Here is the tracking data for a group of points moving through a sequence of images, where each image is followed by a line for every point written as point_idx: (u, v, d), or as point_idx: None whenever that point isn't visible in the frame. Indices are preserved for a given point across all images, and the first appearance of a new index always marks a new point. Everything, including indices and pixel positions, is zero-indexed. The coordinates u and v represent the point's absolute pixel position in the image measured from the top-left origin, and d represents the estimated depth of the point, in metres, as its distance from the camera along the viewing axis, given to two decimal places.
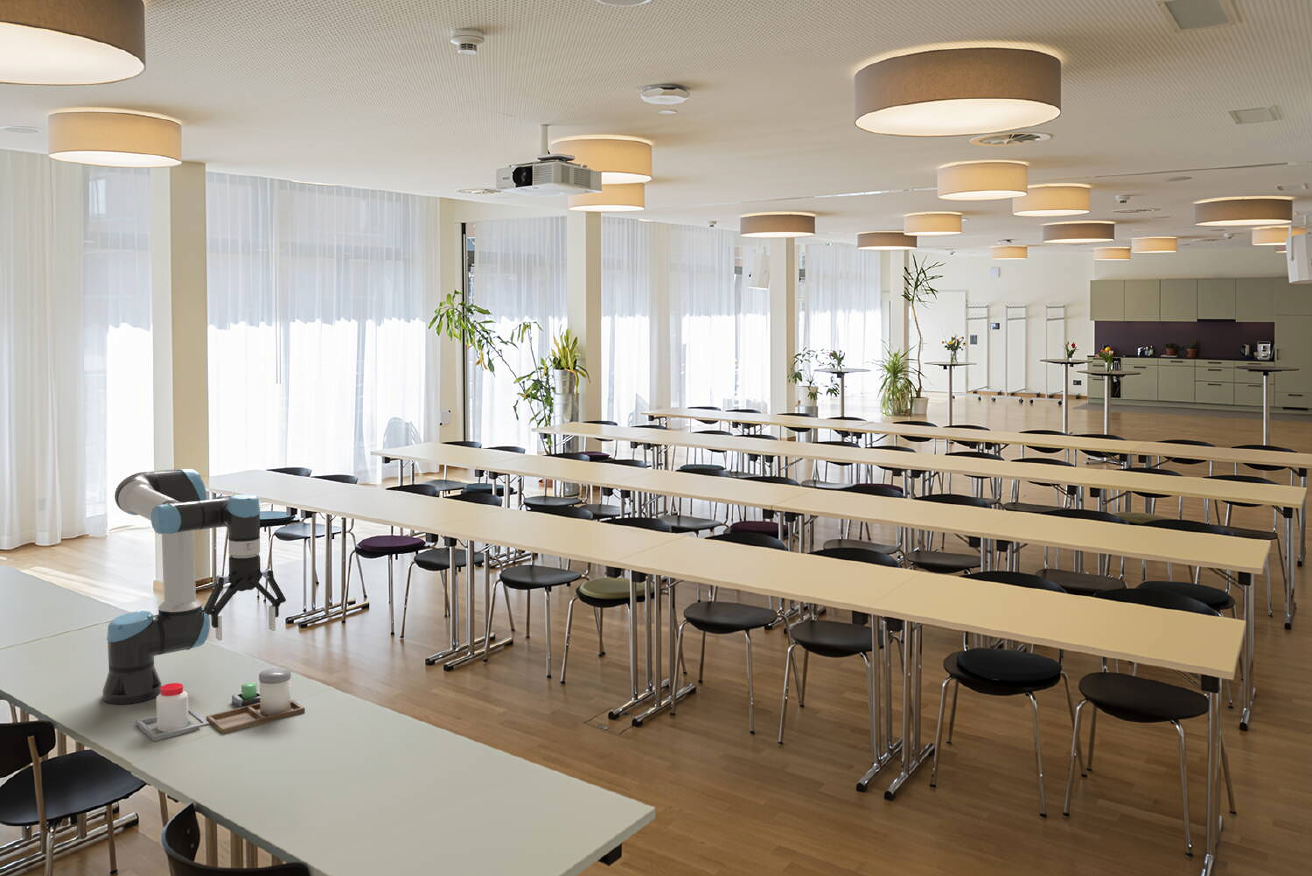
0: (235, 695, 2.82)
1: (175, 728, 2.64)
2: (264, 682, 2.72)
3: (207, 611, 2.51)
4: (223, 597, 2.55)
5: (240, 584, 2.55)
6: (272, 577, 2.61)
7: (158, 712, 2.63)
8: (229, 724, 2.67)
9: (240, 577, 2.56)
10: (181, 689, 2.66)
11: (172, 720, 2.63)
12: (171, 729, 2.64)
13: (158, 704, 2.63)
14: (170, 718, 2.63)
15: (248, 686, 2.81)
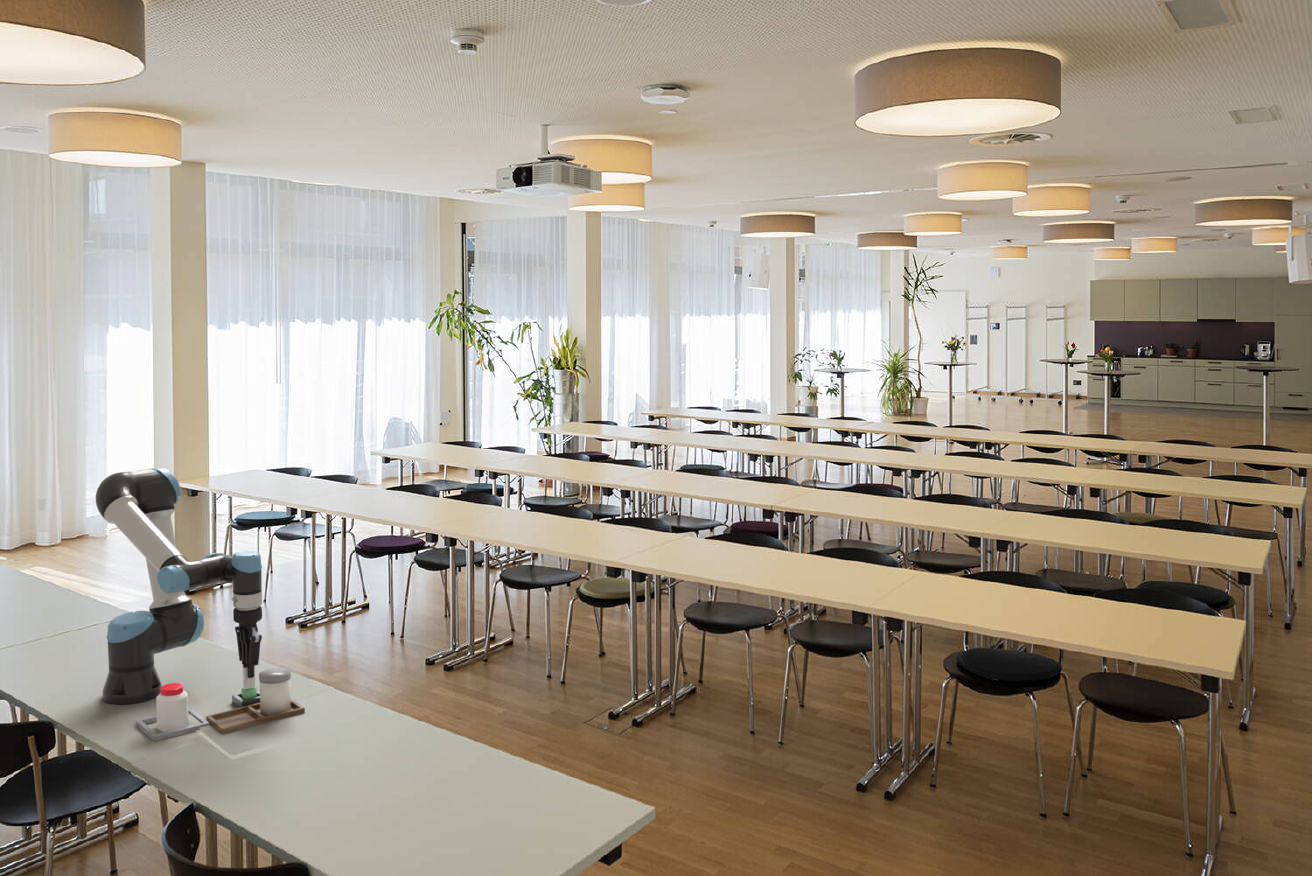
0: (235, 695, 2.82)
1: (175, 728, 2.64)
2: (264, 682, 2.72)
3: (239, 659, 2.83)
4: None
5: (239, 632, 2.80)
6: (251, 642, 2.76)
7: (158, 712, 2.63)
8: (229, 724, 2.67)
9: None
10: (181, 689, 2.66)
11: (172, 720, 2.63)
12: (171, 729, 2.64)
13: (158, 704, 2.63)
14: (170, 718, 2.63)
15: (248, 689, 2.81)
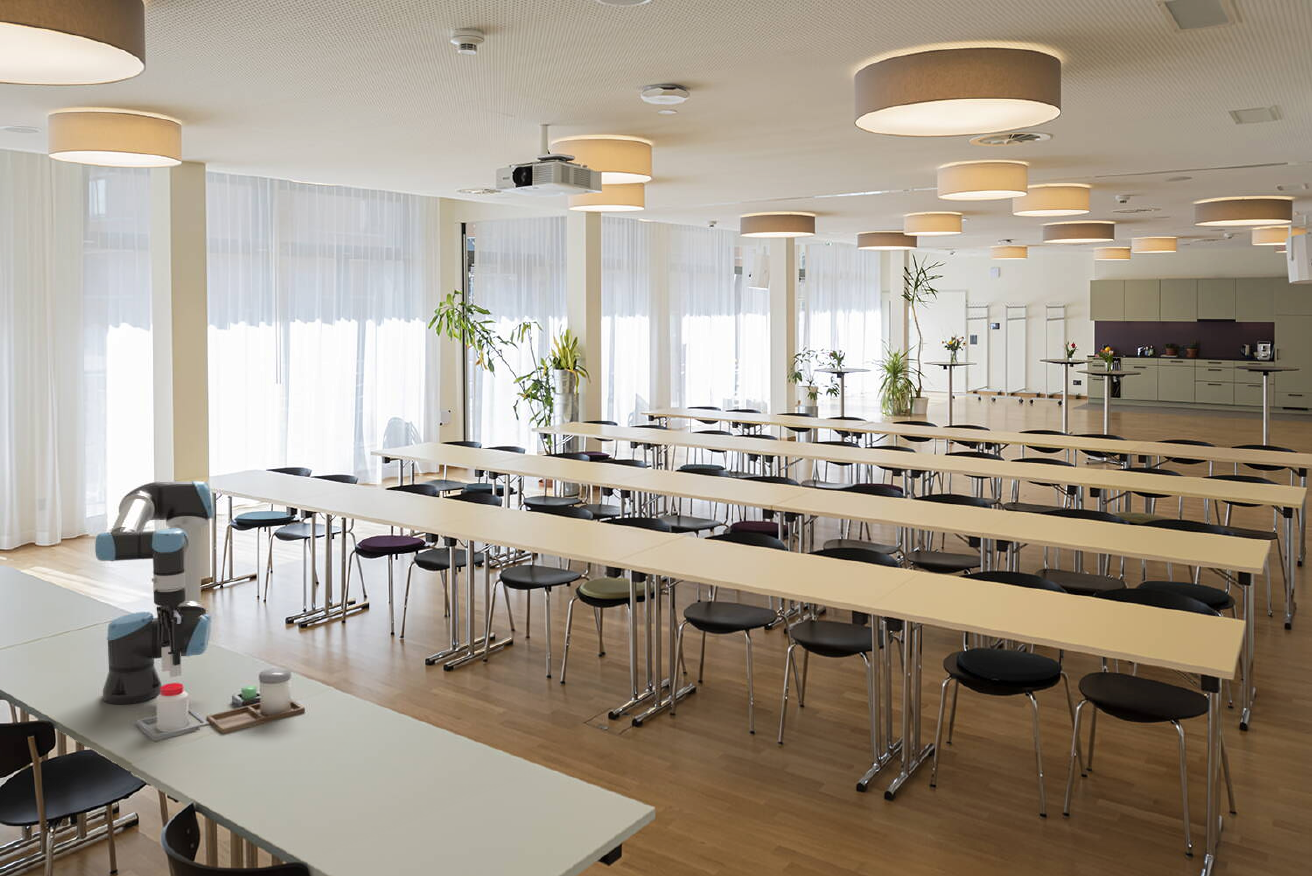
0: (235, 695, 2.82)
1: (175, 728, 2.64)
2: (264, 682, 2.72)
3: (158, 640, 2.68)
4: None
5: (160, 615, 2.63)
6: (173, 624, 2.59)
7: (158, 712, 2.63)
8: (229, 724, 2.67)
9: (163, 605, 2.64)
10: (181, 689, 2.66)
11: (172, 720, 2.63)
12: (171, 729, 2.64)
13: (158, 704, 2.63)
14: (170, 718, 2.63)
15: (248, 689, 2.81)
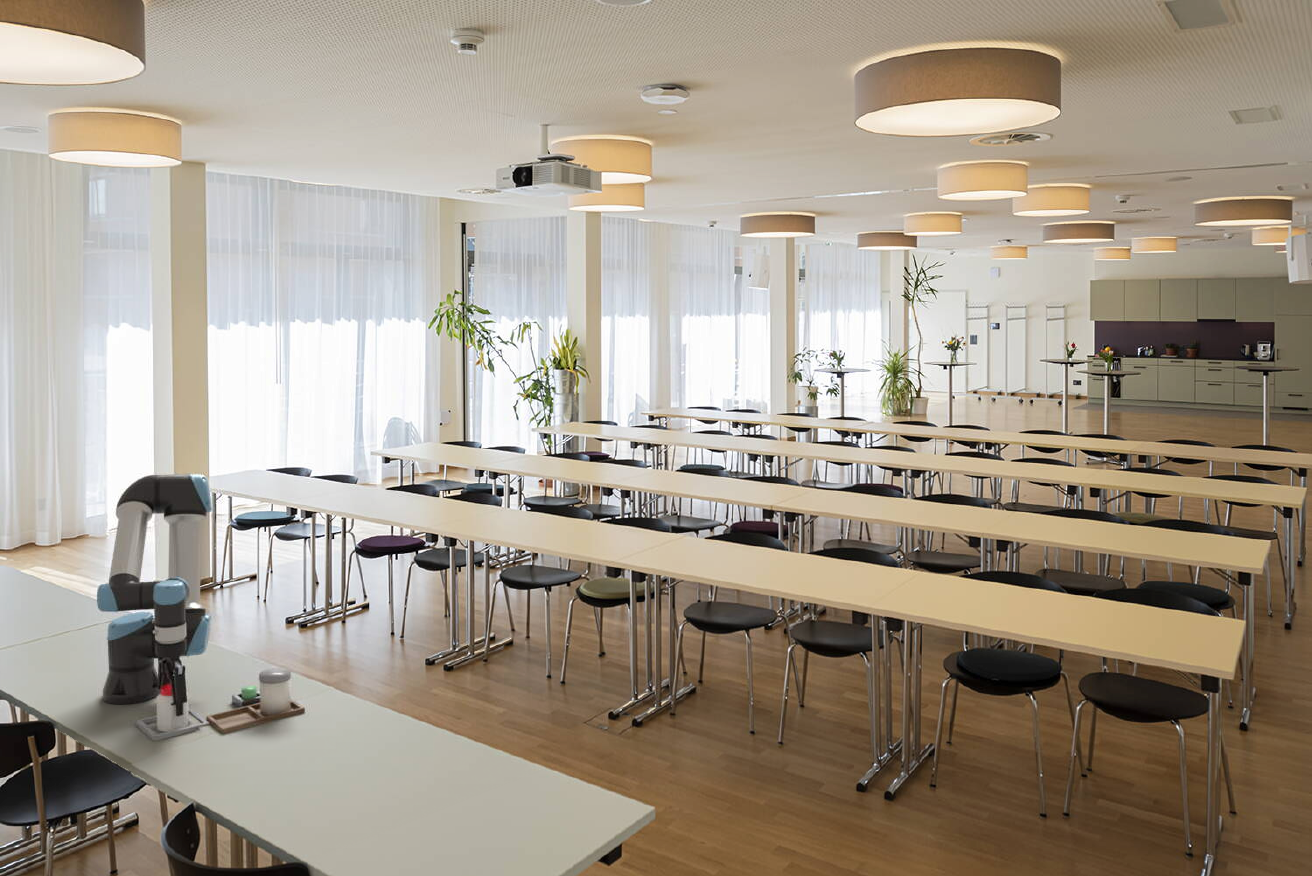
0: (235, 695, 2.82)
1: (175, 728, 2.64)
2: (264, 682, 2.72)
3: (157, 686, 2.70)
4: None
5: (161, 666, 2.65)
6: (175, 675, 2.60)
7: (158, 712, 2.63)
8: (229, 724, 2.67)
9: None
10: None
11: (172, 720, 2.63)
12: (171, 728, 2.64)
13: (158, 704, 2.63)
14: (170, 718, 2.63)
15: (248, 689, 2.81)
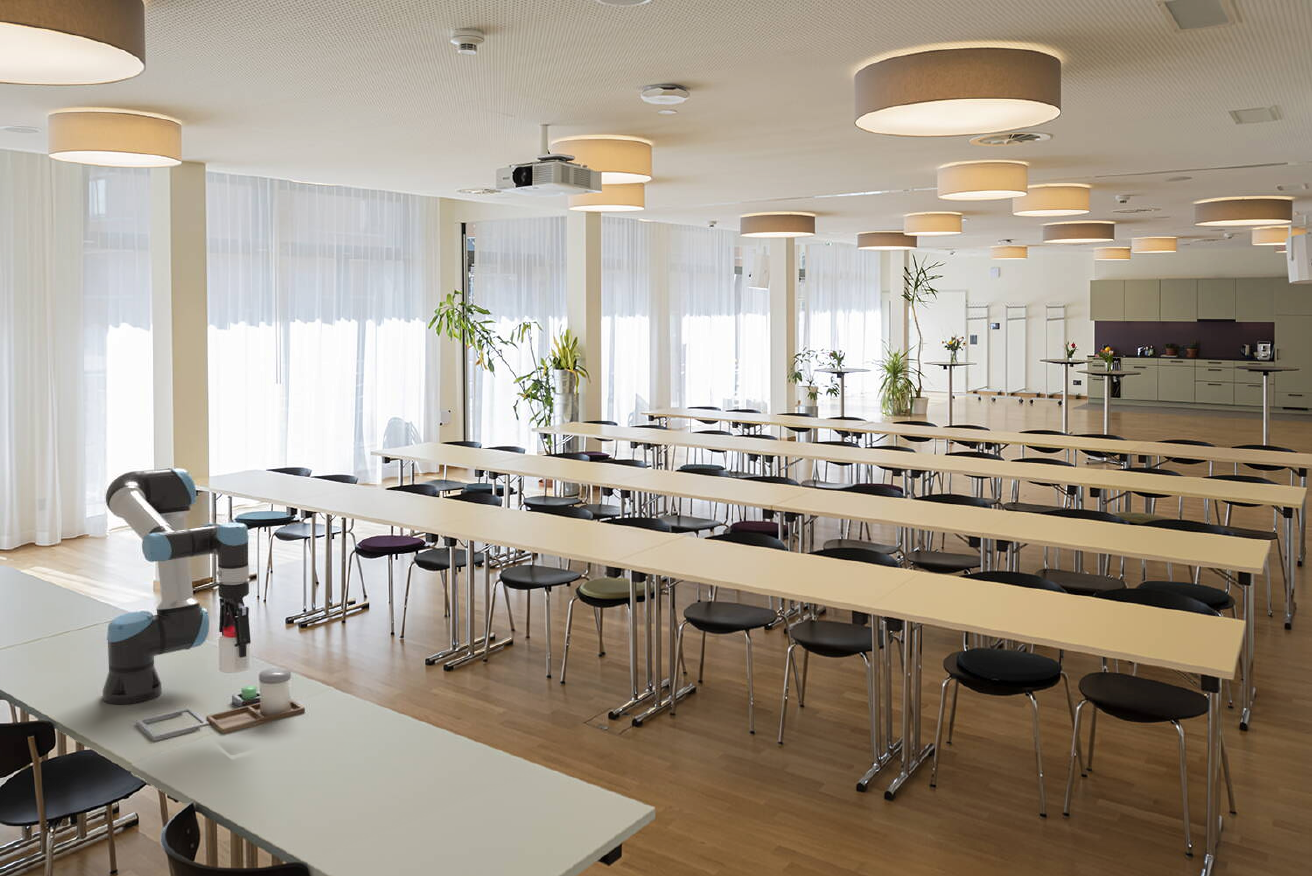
0: (235, 695, 2.82)
1: (238, 669, 2.65)
2: (264, 682, 2.72)
3: (219, 629, 2.71)
4: None
5: (224, 607, 2.66)
6: (238, 615, 2.61)
7: (221, 653, 2.64)
8: (229, 724, 2.67)
9: (227, 599, 2.66)
10: None
11: (235, 661, 2.64)
12: (234, 670, 2.64)
13: (221, 645, 2.64)
14: (233, 659, 2.64)
15: (248, 689, 2.81)
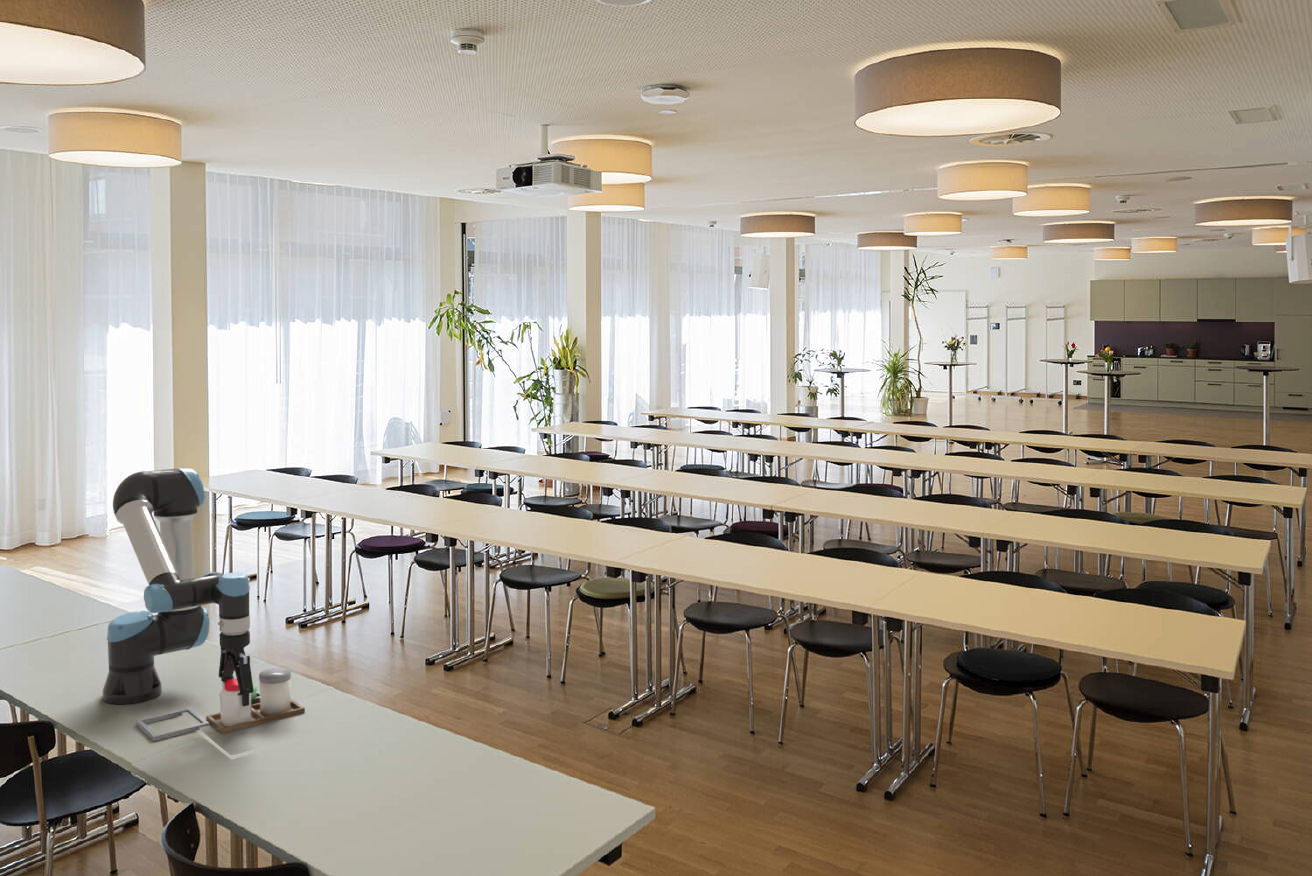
0: None
1: (239, 723, 2.66)
2: (264, 682, 2.72)
3: None
4: None
5: (225, 657, 2.67)
6: (240, 664, 2.62)
7: (222, 707, 2.66)
8: None
9: (228, 649, 2.68)
10: None
11: (236, 715, 2.66)
12: (235, 723, 2.66)
13: (222, 699, 2.66)
14: (234, 713, 2.65)
15: None
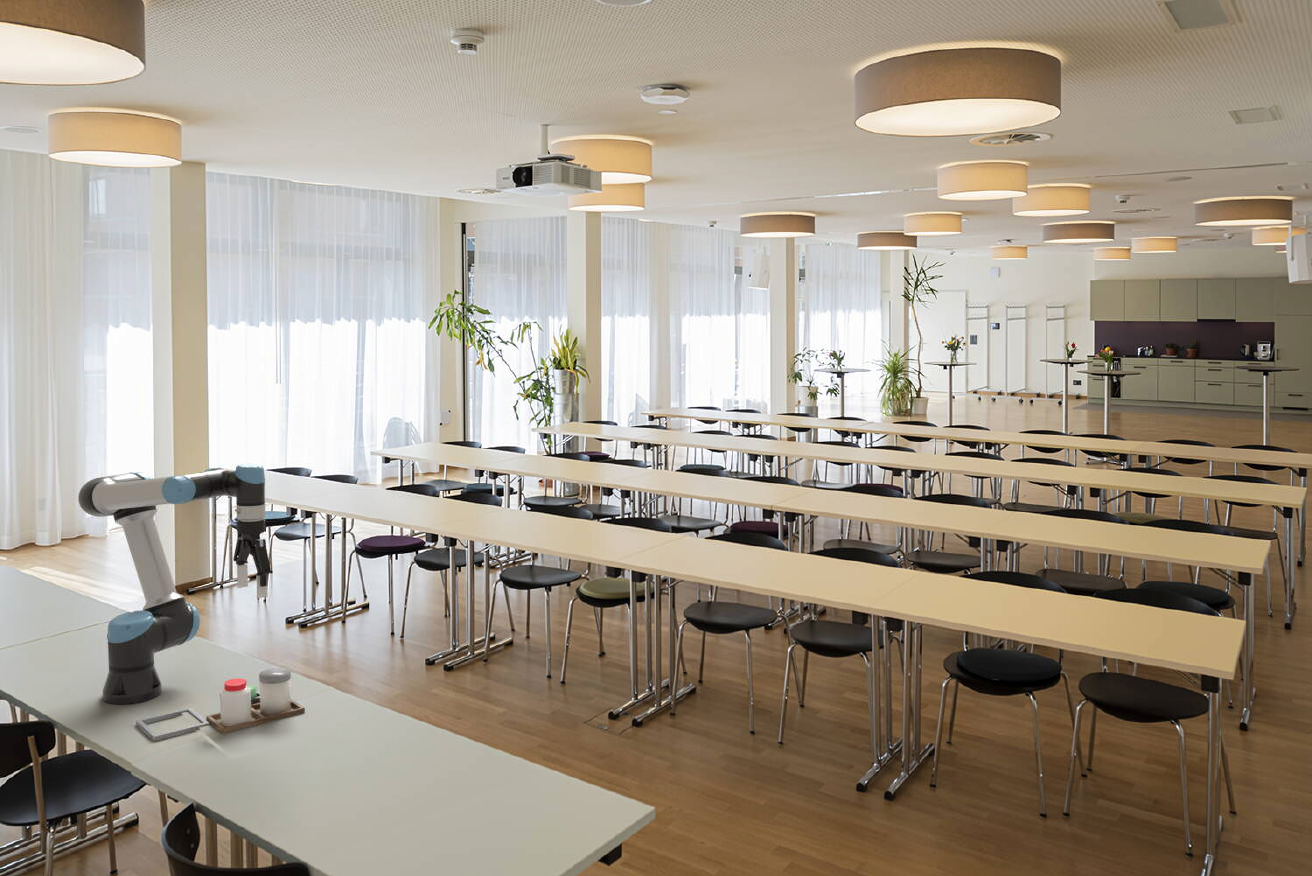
0: None
1: (239, 723, 2.66)
2: (264, 682, 2.72)
3: (233, 558, 2.89)
4: None
5: (242, 543, 2.82)
6: (257, 547, 2.77)
7: (222, 707, 2.66)
8: None
9: (245, 537, 2.82)
10: (244, 684, 2.68)
11: (236, 715, 2.66)
12: (235, 724, 2.66)
13: (222, 699, 2.66)
14: (234, 713, 2.65)
15: None
